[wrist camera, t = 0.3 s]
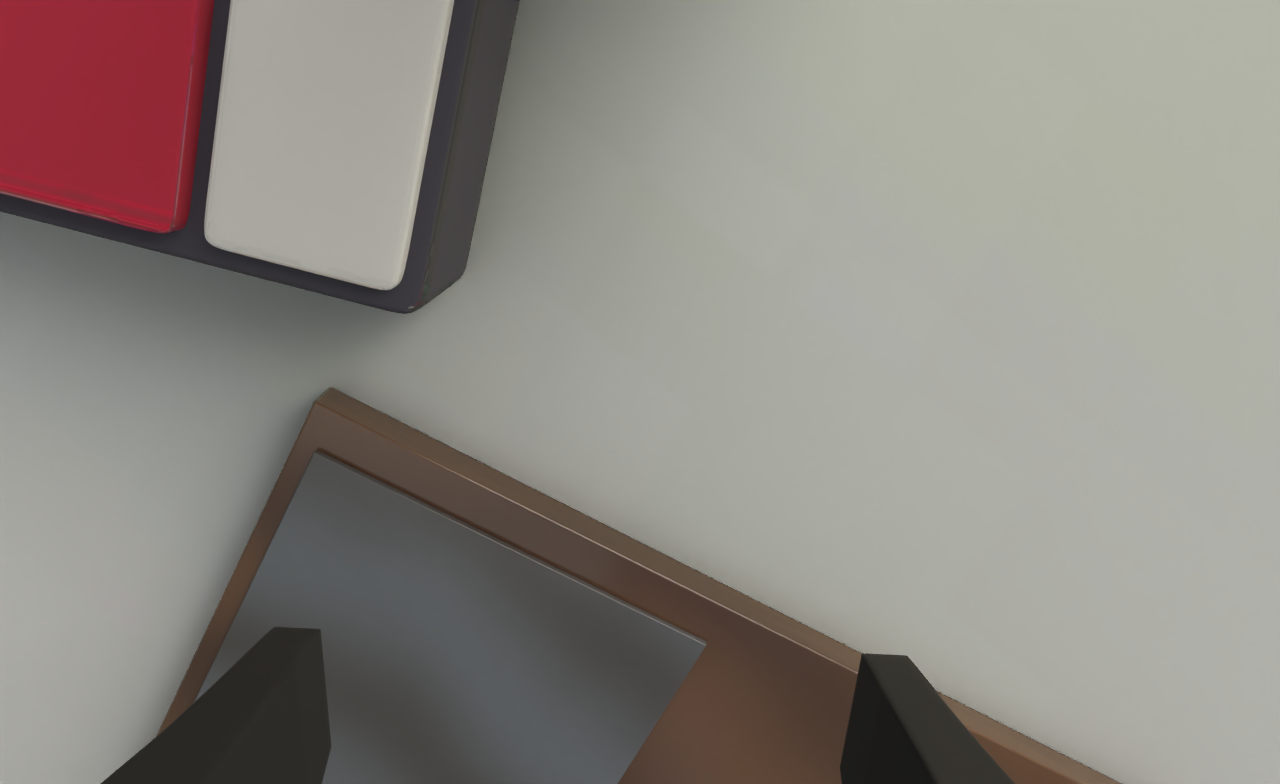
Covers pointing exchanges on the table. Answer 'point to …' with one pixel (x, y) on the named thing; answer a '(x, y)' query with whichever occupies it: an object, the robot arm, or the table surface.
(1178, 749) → the table surface
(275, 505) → the board
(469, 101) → the calculator
